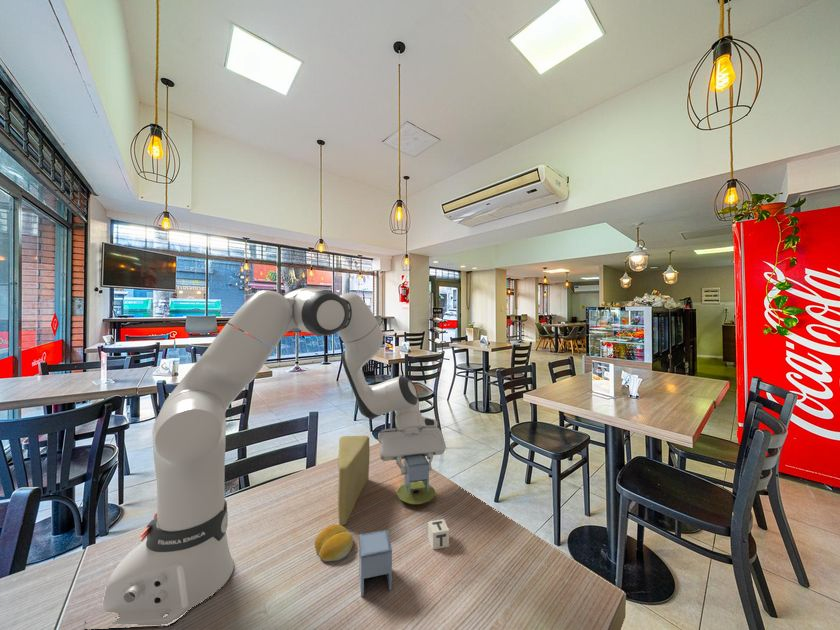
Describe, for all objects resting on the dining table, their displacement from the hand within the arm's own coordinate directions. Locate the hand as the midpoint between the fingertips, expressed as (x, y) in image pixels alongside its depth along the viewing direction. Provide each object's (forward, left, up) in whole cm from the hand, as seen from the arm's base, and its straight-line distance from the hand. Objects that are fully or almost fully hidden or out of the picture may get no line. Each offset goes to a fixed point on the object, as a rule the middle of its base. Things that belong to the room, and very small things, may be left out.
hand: (416, 472), depth 91 cm
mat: (0, +1, -8) cm, 8 cm away
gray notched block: (-15, -24, -8) cm, 30 cm away
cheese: (-19, +5, -8) cm, 21 cm away
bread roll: (-23, -13, -9) cm, 28 cm away
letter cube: (+1, -17, -8) cm, 19 cm away
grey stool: (0, +1, -5) cm, 5 cm away
